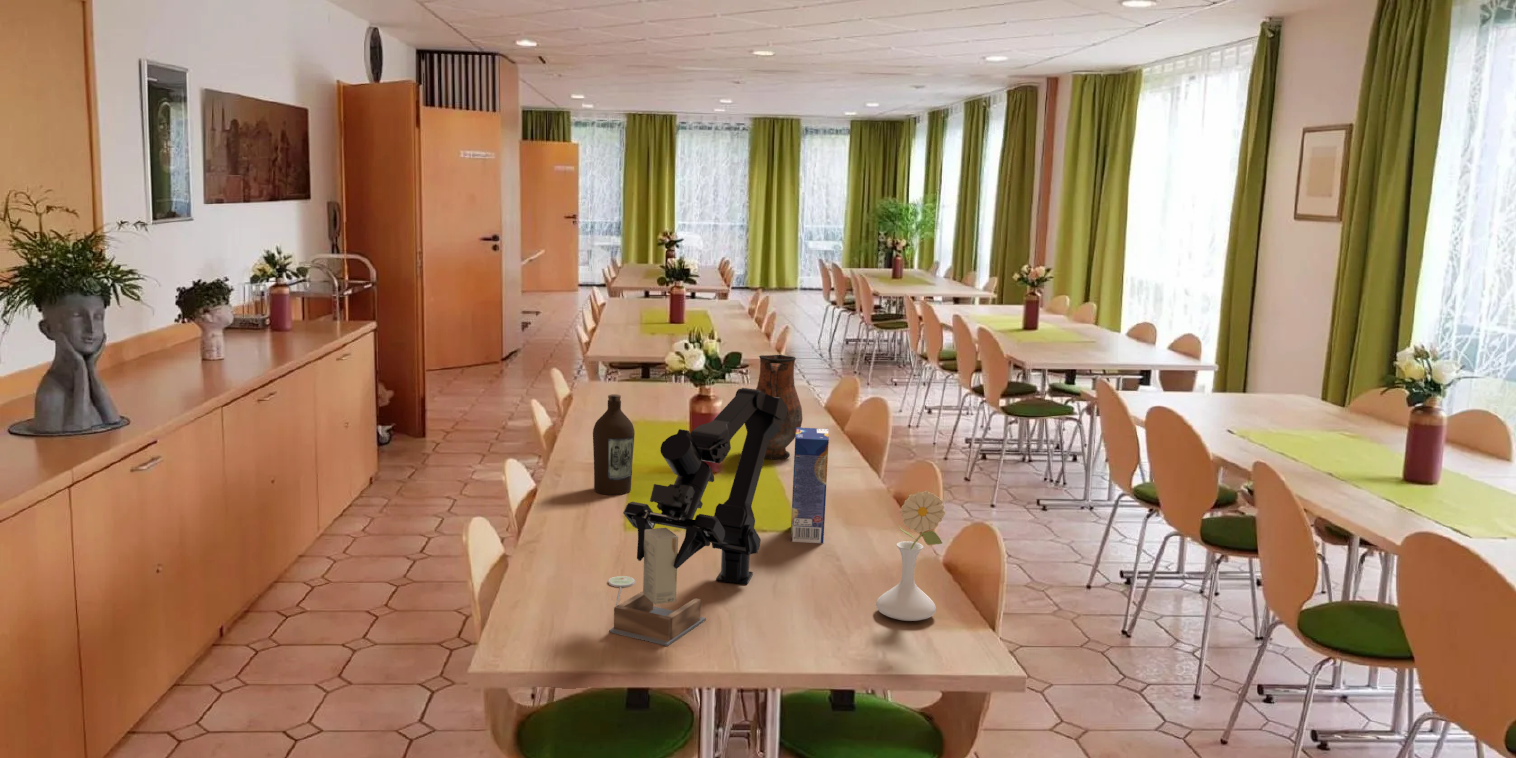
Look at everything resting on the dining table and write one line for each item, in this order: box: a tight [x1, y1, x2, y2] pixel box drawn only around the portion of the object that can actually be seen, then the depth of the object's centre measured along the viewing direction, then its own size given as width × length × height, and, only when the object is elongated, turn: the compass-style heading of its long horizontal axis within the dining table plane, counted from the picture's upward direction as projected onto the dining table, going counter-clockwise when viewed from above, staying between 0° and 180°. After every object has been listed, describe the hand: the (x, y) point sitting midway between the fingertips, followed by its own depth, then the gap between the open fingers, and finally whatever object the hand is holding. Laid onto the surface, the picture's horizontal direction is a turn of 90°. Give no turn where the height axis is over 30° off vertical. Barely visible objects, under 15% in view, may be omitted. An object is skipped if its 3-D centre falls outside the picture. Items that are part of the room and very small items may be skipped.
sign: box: [607, 575, 636, 607], centre depth 223 cm, size 5×1×15 cm
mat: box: [608, 605, 707, 647], centre depth 207 cm, size 14×12×1 cm
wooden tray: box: [613, 590, 702, 642], centre depth 206 cm, size 12×11×4 cm
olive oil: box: [592, 393, 635, 496], centre depth 294 cm, size 11×11×25 cm
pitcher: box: [755, 354, 803, 461], centre depth 337 cm, size 17×21×30 cm
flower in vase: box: [875, 490, 946, 622], centre depth 214 cm, size 13×11×25 cm
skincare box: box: [642, 527, 679, 605], centre depth 205 cm, size 6×4×12 cm
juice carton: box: [789, 427, 830, 544], centre depth 263 cm, size 12×8×24 cm, turn 177°
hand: (656, 563), depth 204 cm, fingers closed on skincare box, 7 cm apart
